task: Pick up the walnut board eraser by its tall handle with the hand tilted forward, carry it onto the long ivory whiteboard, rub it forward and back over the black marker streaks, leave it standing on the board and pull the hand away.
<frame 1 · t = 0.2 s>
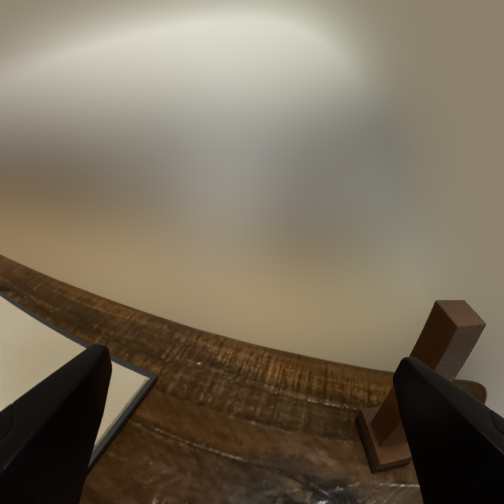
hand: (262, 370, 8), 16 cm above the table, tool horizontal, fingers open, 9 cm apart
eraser: (380, 442, 22), on the table
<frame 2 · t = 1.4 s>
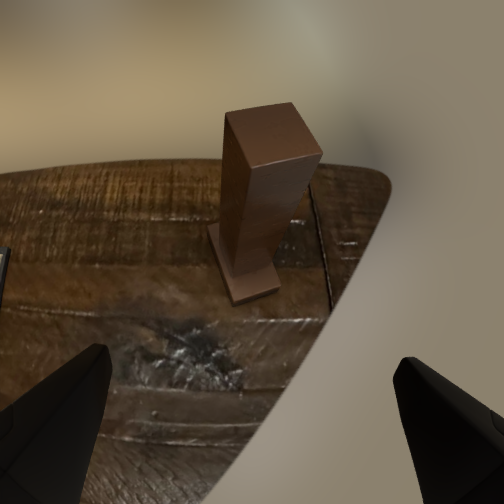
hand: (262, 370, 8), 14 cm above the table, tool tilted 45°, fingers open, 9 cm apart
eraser: (241, 263, 24), on the table
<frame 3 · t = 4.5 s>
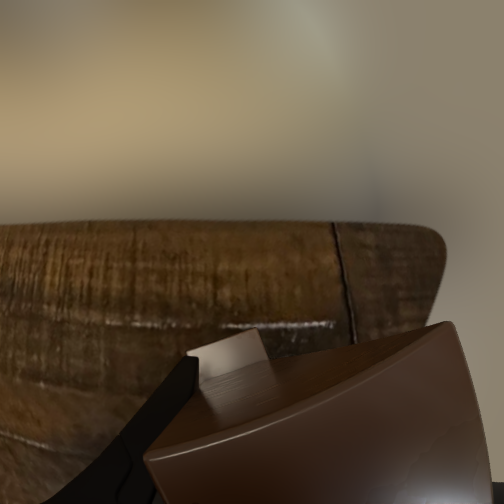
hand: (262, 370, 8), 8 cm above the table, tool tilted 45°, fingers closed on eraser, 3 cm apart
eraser: (240, 394, 15), on the table, touching gripper
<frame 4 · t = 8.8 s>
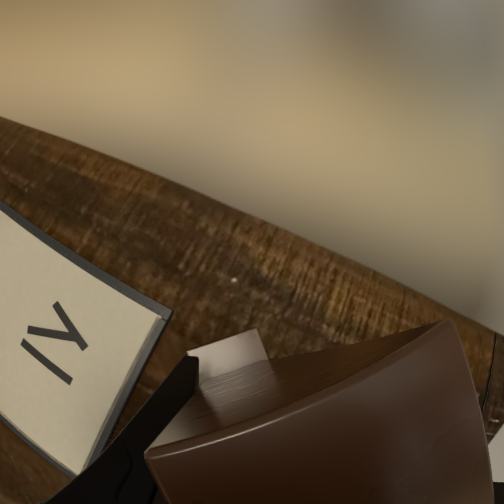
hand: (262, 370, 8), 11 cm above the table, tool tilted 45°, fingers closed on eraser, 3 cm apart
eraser: (240, 394, 15), point 4 cm above the table, touching gripper
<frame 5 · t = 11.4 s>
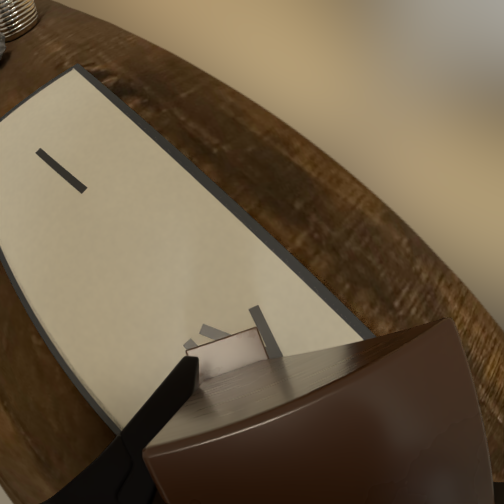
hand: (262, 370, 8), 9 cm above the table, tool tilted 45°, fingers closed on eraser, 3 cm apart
whiteboard: (98, 224, 19), on the table
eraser: (240, 394, 15), point 1 cm above the table, touching gripper
water bottle: (21, 31, 28), on the table
when the fingers open (8 cm above the table, at t = 13.4 s): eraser stays where it is, resting on whiteboard.
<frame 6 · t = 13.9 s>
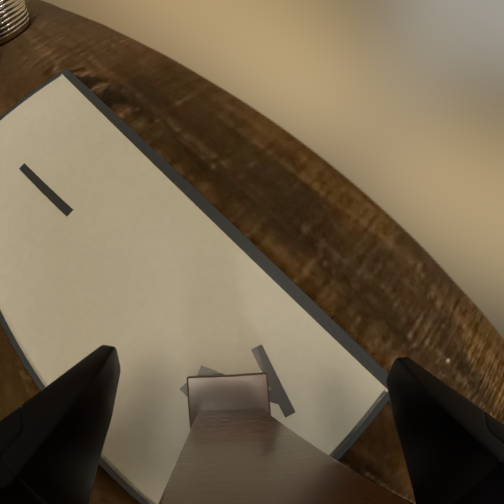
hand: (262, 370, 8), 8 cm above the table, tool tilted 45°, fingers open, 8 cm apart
whiteboard: (85, 251, 17), on the table
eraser: (230, 431, 13), point 1 cm above the table, touching whiteboard
water bottle: (12, 34, 26), on the table
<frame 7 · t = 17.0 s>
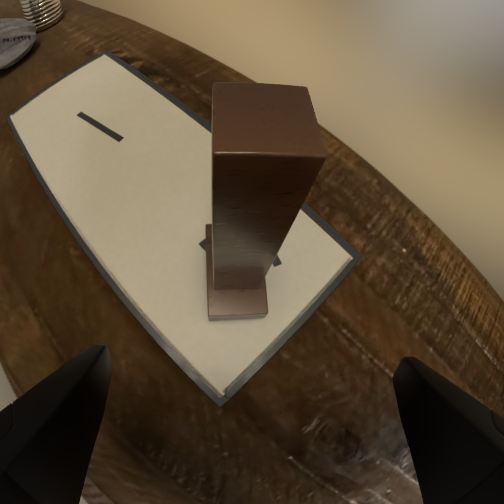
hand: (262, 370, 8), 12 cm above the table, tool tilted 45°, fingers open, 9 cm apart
whiteboard: (132, 164, 24), on the table
fossil: (11, 62, 29), on the table
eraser: (233, 275, 21), point 1 cm above the table, touching whiteboard
water bottle: (46, 24, 34), on the table
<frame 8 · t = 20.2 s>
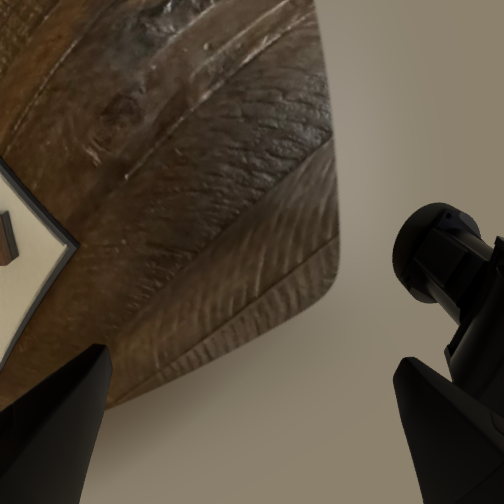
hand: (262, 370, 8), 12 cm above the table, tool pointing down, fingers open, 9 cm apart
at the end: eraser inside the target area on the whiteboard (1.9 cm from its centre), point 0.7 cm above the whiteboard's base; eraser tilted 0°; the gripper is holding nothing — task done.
